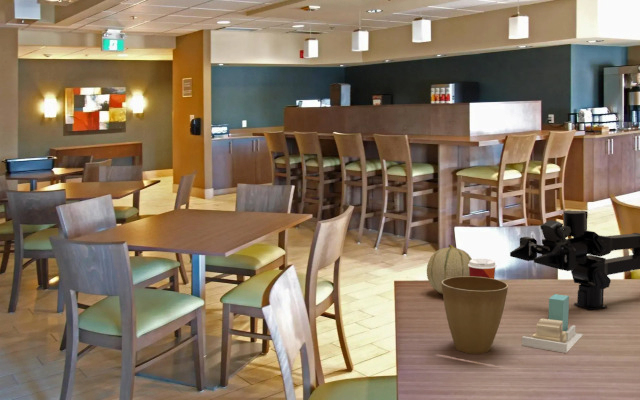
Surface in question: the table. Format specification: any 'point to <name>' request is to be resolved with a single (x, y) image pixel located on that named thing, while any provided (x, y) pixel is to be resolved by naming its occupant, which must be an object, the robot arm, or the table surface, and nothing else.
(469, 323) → the plant pot
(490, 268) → the paper cup
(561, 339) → the offcut lower
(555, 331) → the offcut upper
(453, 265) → the cantaloupe
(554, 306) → the teal rectangular block
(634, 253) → the robot arm
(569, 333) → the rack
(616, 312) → the table surface
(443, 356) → the table surface
